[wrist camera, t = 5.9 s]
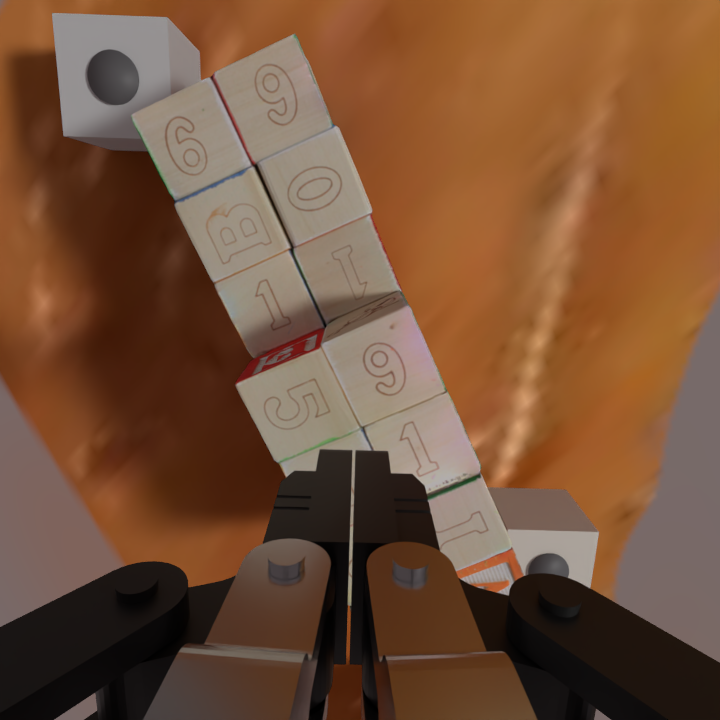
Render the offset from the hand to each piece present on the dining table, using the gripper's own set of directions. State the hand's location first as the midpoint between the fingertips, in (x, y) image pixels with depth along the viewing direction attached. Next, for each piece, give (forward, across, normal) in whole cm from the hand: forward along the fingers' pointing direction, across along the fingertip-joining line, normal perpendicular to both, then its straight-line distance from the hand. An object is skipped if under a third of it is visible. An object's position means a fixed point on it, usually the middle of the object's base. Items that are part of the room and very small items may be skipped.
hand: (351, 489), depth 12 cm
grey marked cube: (+18, +10, -11) cm, 23 cm away
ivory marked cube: (+18, -10, +11) cm, 23 cm away
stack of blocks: (+18, 0, 0) cm, 18 cm away
